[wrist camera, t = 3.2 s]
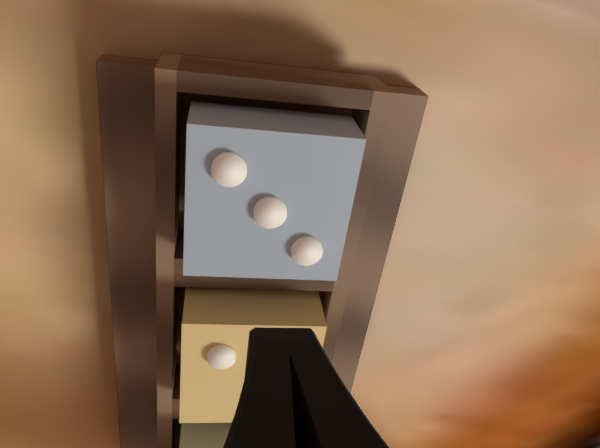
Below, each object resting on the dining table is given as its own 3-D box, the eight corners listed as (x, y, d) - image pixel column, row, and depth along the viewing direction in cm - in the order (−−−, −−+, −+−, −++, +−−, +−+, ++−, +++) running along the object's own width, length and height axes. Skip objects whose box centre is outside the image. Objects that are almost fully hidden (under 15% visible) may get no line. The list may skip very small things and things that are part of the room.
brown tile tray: (328, 448, 29) (338, 499, 26) (125, 453, 27) (114, 509, 24) (422, 74, 18) (454, 99, 16) (102, 38, 16) (78, 60, 14)
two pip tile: (300, 382, 22) (307, 425, 20) (183, 383, 21) (178, 427, 19) (318, 291, 19) (328, 330, 18) (185, 287, 19) (181, 327, 17)
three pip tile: (326, 248, 18) (337, 284, 17) (187, 241, 18) (182, 279, 16) (351, 116, 16) (368, 141, 14) (190, 101, 15) (186, 126, 13)
